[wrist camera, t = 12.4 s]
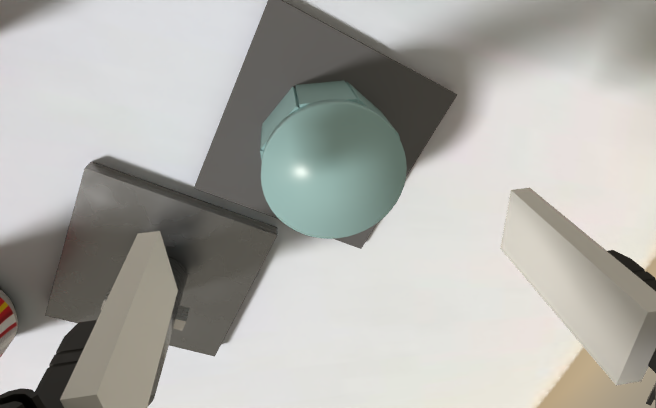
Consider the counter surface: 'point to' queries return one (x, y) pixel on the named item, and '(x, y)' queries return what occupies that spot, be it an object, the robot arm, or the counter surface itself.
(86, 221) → the post
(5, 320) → the soda can
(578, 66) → the counter surface
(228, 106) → the mat
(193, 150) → the counter surface
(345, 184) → the cap
